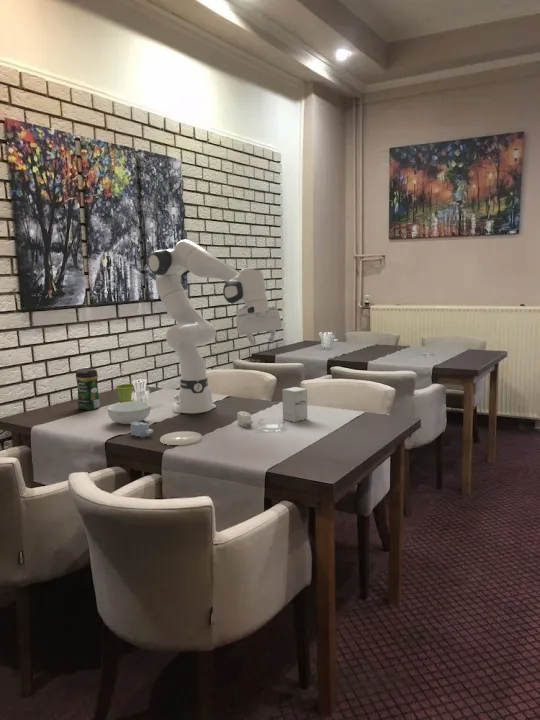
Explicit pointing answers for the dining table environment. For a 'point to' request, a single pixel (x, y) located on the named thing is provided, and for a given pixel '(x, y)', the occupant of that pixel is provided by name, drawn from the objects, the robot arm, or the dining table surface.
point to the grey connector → (244, 419)
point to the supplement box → (294, 404)
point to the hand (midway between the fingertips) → (262, 343)
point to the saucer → (181, 438)
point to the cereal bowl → (129, 412)
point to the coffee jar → (87, 389)
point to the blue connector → (140, 429)
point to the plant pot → (124, 392)
